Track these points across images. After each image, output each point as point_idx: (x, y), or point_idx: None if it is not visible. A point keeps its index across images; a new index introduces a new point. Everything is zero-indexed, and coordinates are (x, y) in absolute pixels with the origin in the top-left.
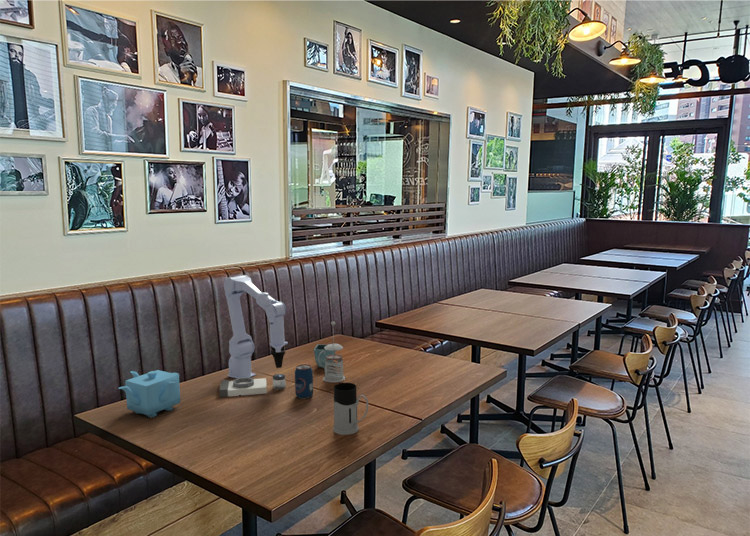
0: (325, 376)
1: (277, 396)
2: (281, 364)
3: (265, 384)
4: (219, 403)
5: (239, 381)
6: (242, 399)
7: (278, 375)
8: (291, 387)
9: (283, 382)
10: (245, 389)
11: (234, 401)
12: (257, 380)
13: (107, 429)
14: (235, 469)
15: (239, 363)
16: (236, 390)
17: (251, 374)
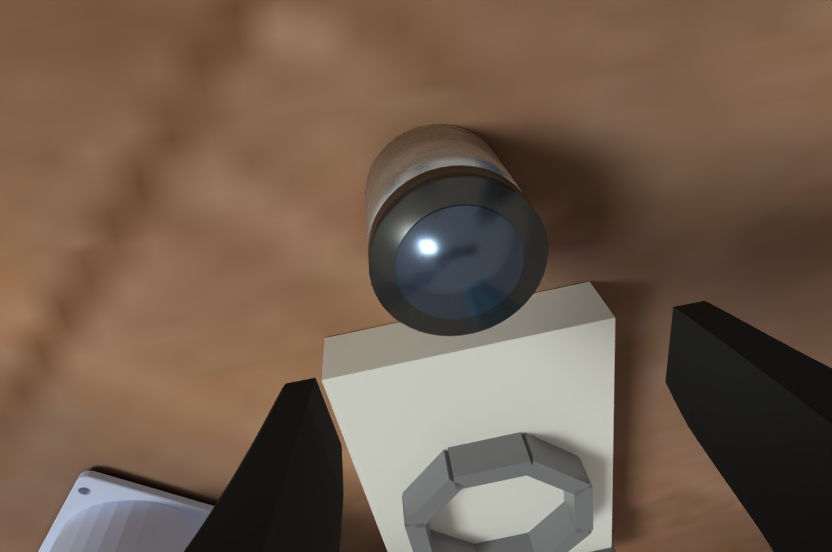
0: None
1: (703, 165)
2: (758, 341)
3: (527, 344)
4: (701, 510)
5: (441, 540)
6: (676, 417)
7: (453, 273)
8: (444, 42)
9: (500, 164)
10: (610, 458)
11: (698, 450)
12: (395, 432)
13: None
14: None
15: None
16: (608, 502)
17: (110, 501)
